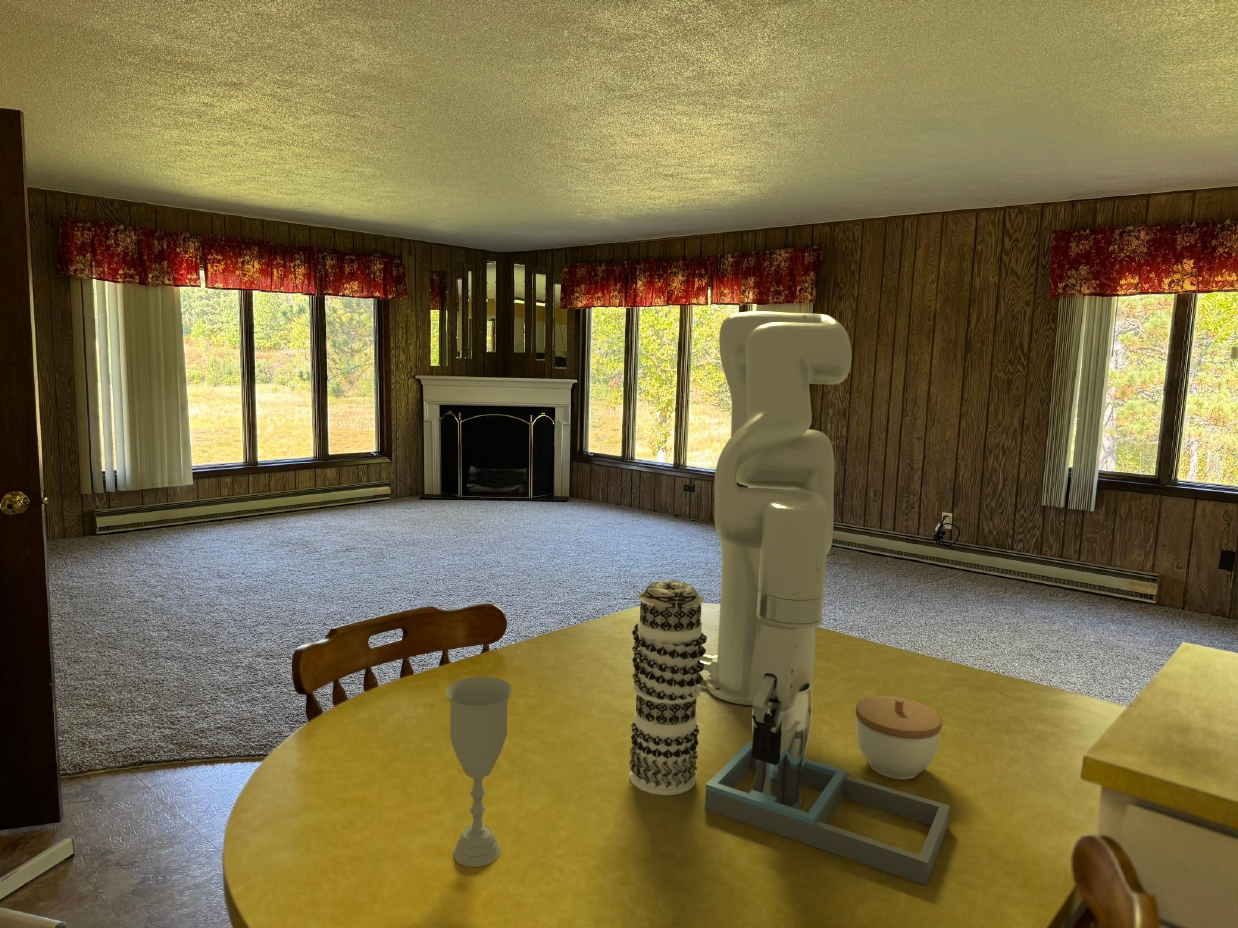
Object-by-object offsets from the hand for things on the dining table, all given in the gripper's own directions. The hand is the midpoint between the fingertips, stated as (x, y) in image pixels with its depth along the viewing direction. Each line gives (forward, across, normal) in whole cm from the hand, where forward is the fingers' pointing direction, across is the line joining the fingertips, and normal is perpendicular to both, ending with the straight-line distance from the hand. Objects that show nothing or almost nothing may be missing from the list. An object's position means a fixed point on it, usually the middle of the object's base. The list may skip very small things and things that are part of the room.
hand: (780, 744), depth 98 cm
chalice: (+7, +28, -23) cm, 37 cm away
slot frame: (+7, 0, +6) cm, 9 cm away
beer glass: (+7, 0, 0) cm, 8 cm away
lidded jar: (+8, -17, +10) cm, 21 cm away
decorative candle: (+7, +3, -14) cm, 16 cm away
